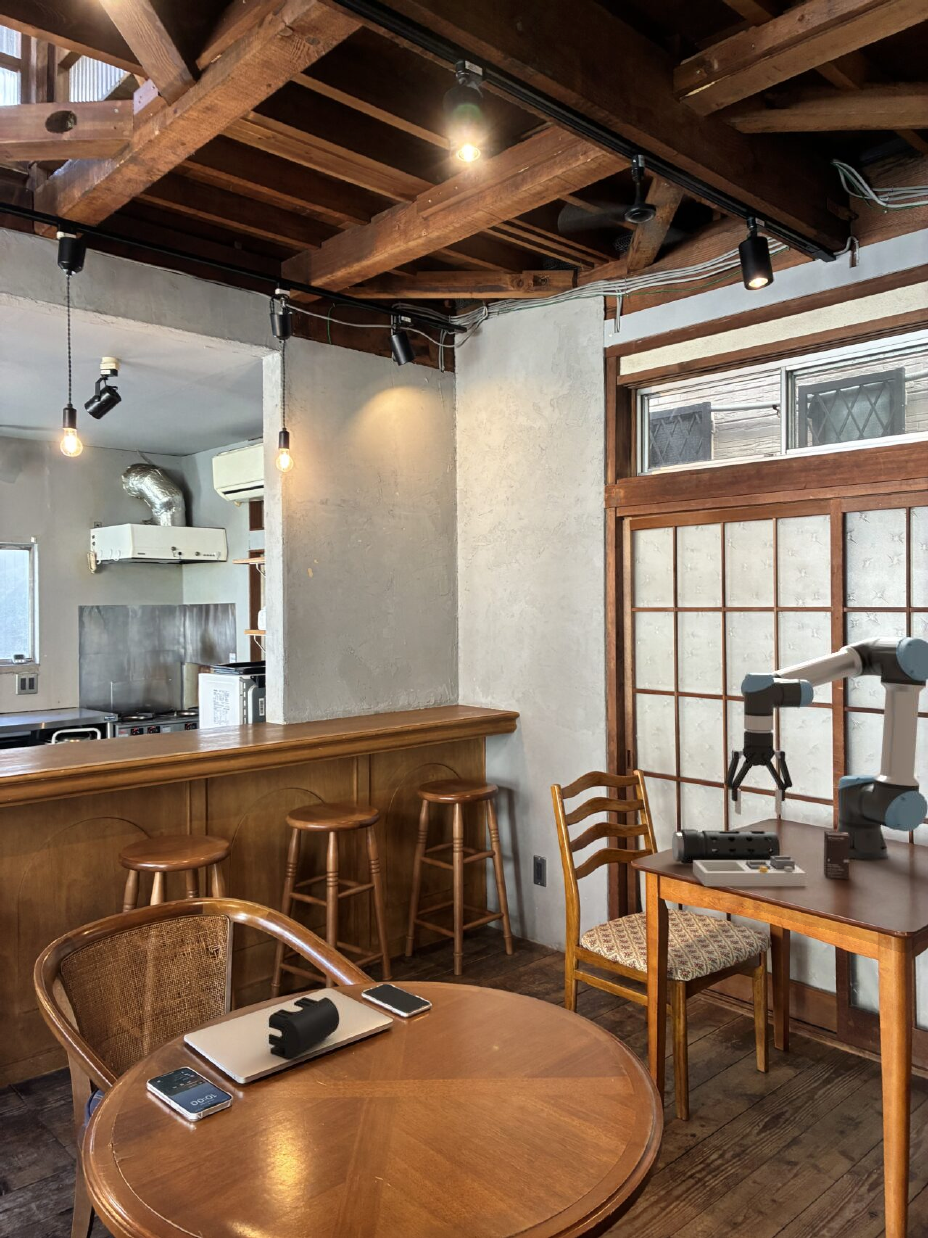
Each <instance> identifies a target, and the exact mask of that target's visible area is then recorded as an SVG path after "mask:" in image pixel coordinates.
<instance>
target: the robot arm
mask: <svg viewBox="0 0 928 1238" xmlns="http://www.w3.org/2000/svg"><path fill="white" fill-rule="evenodd" d="M865 676H876V677H880V684H881V686H882V687H883V688H884V689H885V698H884V699H885V700H884V712H883V713H884V715H883V726H882V727H883V729H882V740H881V741H882V744H881V754H880V755H881V758H880V772H879V774H877V775H869V774H868V775H867V774H865V775H863V774H861V775H860V774H859V775H845V776H842V777H840V778H839V780H838V788H837V796H838V797H837V803H838V805H837V807H838V809H837V810H838V812H837V813H838V814H837V815H838V822H837V823H838V824H837V827H836V831H838V832H847V833H848V834H849V836H850V850H849V859H850V858H851V859H858V860H881V859H885V858H887V857H888V846H887V843H886V840H885V838H884V837H885V836H884V834H883V832H882V831H883V830H882V827H886V828H888V829H891V830H893V831H900V832H912V831H914V830H915V829H917V828H919V826H920V825H922V824H923V823H924V821H925V819H926V817H927V814H928V802H927V800H926V798H925V796H924V795H923V794H922V793H921V792H920V782H919V781H918V780H917V779H916V778H915V763H916V751H917V749H916V748H917V736H918V735H917V734H918V731H917V730H918V719H919V704H920V703H919V701H920V692H921V691H923V690H925V688H926V687H927V680H928V642H927V640H924V639H920V638H917V637H912V636H910V637H908V636H906V637H900V636H898V637H896V636H877V637H876V636H875V637H871V638H867V639H864V640H861V641H859V642H858V641H857V642H854V643H851V644H847V645H845V646H843V647H841V648H840V649H839V650H838V652H835V653H831V654H827V655H825V656H821V657H819V658H816V659H812V660H808V661H805V662H802V663H799V664H796V665H793V666H789V667H786V668H783V669H780V670H776V671H773V672H749V673H747V674H745V676H744V679H743V680H742V682H741V684H740V693H741V695H742V696H743V729H744V731H743V748H742V750H735V749H733V750H732V751H731V761H730V763H729V767H728V770H727V773H726V777H725V780H724V783H723V784H724V786H726V787H728V788H730V789H731V800H732V801H733V802H734V812H735V814H737V815H741V814H742V790H741V789H740V788H739V787H740V786H741V784H742V783H743V782H744V779H745V778H746V776H747V774H748V773H749V771H750V770H751V769H752V767H753V766H754V767H758V766H761V767H766V768H767V770H768V771H769V774H770V775H771V777H772V778H773V780H774V782H775V784H776V785H777V787H776V788H775V789H774V790H775V791H774V792H775V793H774V794H775V795H774V798H775V801H774V806H775V807H774V812H775V813H776V814H778V815H782V813H783V811H782V809H783V808H782V807H783V805H782V804H783V802H785V800H786V790H787V789H789V788H792V787H793V782H792V778H791V775H790V771H789V769H788V764H787V762H786V761H787V760H786V752H785V751H784V750H782V749H779V750H775V749H774V732H773V730H774V711H775V710H774V709H781V708H785V709H786V708H796V709H800V708H805V707H808V706H810V705H811V704H812V702H813V701H814V697H815V694H814V693H815V692H814V691H815V690H814V688H816V687H819V686H821V685H826V684H829V683H832V682H834V681H837V680H841V679H845V678H847V677H848V678H851V679H854V678H858V677H865ZM742 756H743V757H744V758H745V759H744V761H743V763H742V765H741V767H740V769H739V771H738V772H737V769H738V765H739V762H740V759H741V758H742ZM773 757H775V758H776V759H777V762H778V765H779V769H780V773H781V775H782V778H783V780H782V778H781V777H780V774H779V773H778V771H777V770H776V768H775V765H774V764H773V762H772V759H773ZM736 772H737V774H736Z"/></svg>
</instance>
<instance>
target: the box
mask: <svg viewBox="0 0 928 1238" xmlns="http://www.w3.org/2000/svg"><path fill="white" fill-rule="evenodd" d="M823 836H824V839H823V843H824V844H823V875H824V877H825V878H826V879H839V880H840V879H841V880H849V879H850V857H849V850H850V836H849V834H848V833H847V832H838V831H835V830H834V831H833V830H824V831H823Z"/></svg>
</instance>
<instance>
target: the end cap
mask: <svg viewBox="0 0 928 1238" xmlns="http://www.w3.org/2000/svg"><path fill="white" fill-rule="evenodd" d="M293 1005H294V1007H298V1008H301V1009H300V1010H297V1011H296V1010H295V1011H289V1010H286V1009H283V1008H281V1009H279V1010H278V1011H276V1012H274V1013H272V1014H271V1015H270V1016H269V1017H268V1028H271V1029H273V1030H276V1031H280V1034H281V1035H280V1036H278V1035H275V1034H272V1033H270V1034H268V1044H269V1045H271V1046H272V1047H271V1048H269V1049H270V1051H269V1052H270V1054H271V1055H273V1056H277V1057H279V1058H282V1059H285V1060H292V1059H294V1058H295V1057H297V1056H299V1055H300V1054H302V1053H304V1052H305V1051H307V1050H308V1049H310V1048H311V1047H314V1046H315V1045H317V1044H318V1043H320V1042H321V1041H323V1040H325V1039H326V1038H329V1037H330V1036H331V1034H333V1033H334V1032H336V1030H337V1029H338V1027H339V1025H340V1013H339V1010H338V1007H337V1005H336V1004H335V1002H333V1001H332V999H330V998H328V997H323V998H321V999H319V1000H315V999H311V998H309V997H307V996H306V997H305V996H304V997H302V998H300V999H298V1000H296V1001H294V1002H293Z"/></svg>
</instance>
